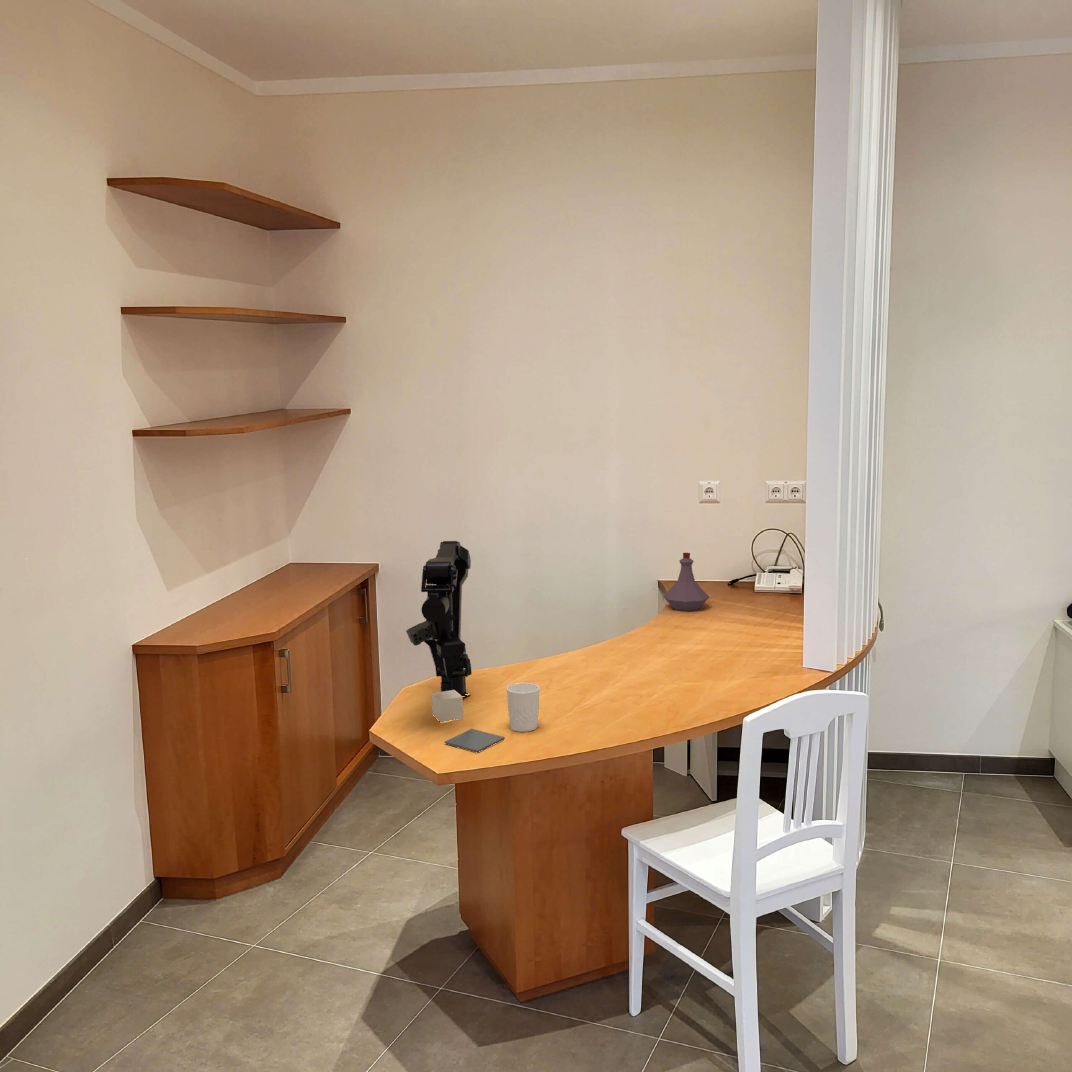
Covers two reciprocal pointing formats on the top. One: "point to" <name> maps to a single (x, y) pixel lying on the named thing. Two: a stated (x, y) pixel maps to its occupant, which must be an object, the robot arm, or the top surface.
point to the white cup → (523, 706)
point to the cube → (447, 705)
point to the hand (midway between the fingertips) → (443, 672)
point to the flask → (686, 589)
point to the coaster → (474, 740)
